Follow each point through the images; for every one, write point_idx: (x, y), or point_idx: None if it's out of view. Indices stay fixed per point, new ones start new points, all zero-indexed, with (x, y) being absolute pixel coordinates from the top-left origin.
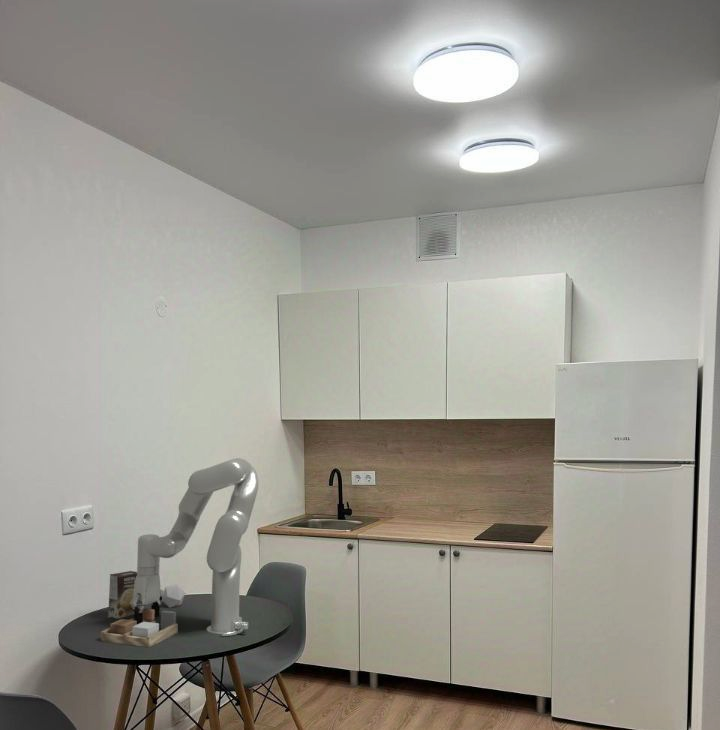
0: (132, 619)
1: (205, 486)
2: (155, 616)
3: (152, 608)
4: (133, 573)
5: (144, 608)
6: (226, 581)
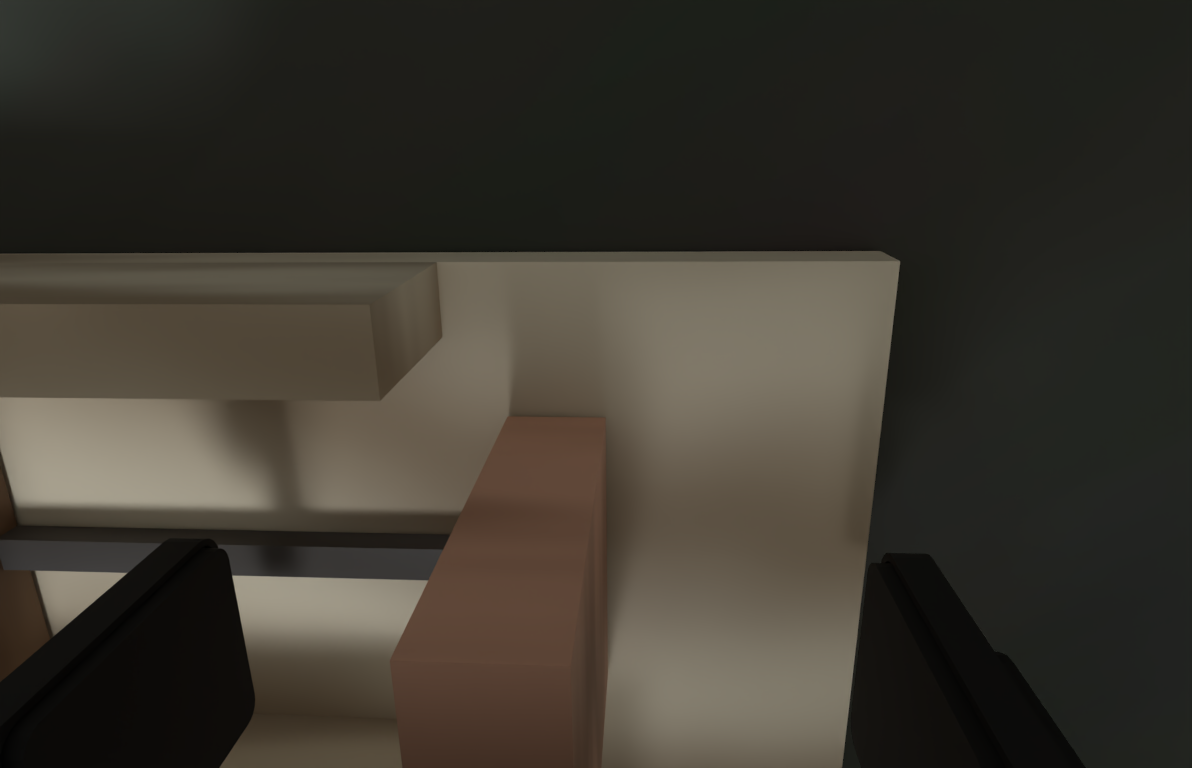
0: (297, 390)
1: None
2: (858, 675)
3: (937, 746)
4: None
5: (562, 743)
6: None
